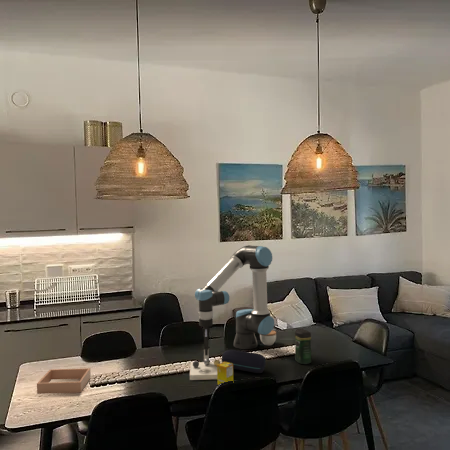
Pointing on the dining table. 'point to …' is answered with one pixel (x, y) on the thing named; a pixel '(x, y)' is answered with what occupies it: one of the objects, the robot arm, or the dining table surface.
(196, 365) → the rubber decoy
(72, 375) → the brown square tray
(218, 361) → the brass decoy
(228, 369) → the supplement box
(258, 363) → the portable speaker
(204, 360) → the ball
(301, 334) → the coffee jar
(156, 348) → the dining table surface
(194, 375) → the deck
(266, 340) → the lidded jar
